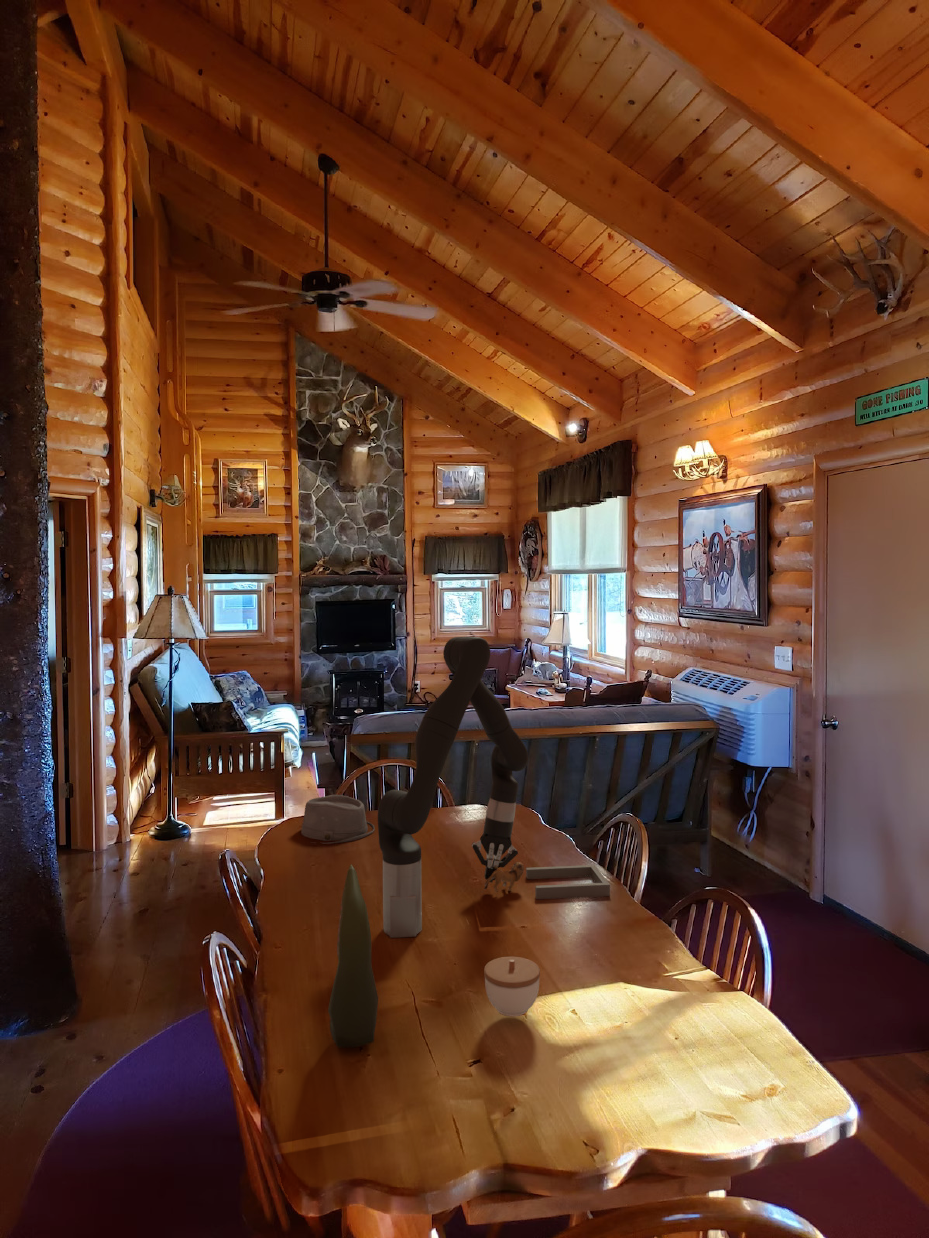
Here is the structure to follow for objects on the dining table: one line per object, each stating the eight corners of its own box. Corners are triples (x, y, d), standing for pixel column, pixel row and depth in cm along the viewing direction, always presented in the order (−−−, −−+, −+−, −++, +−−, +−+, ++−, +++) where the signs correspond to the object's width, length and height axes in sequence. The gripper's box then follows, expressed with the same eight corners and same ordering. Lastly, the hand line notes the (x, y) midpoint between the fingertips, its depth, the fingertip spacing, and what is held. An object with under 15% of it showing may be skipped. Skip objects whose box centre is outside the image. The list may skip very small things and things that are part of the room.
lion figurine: (508, 880, 220) (519, 857, 218) (519, 890, 217) (529, 867, 215) (478, 885, 211) (489, 861, 210) (489, 895, 208) (499, 871, 207)
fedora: (313, 822, 279) (313, 786, 279) (386, 829, 271) (385, 792, 270) (276, 843, 256) (275, 805, 256) (354, 852, 248) (353, 812, 247)
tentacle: (374, 1017, 152) (372, 860, 151) (383, 1053, 140) (381, 884, 139) (325, 1023, 150) (323, 865, 149) (330, 1061, 138) (328, 889, 137)
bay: (609, 895, 211) (609, 884, 211) (536, 899, 209) (536, 887, 209) (594, 875, 226) (594, 864, 226) (526, 878, 224) (526, 867, 224)
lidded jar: (474, 1014, 153) (474, 966, 153) (498, 989, 162) (498, 943, 162) (526, 1028, 148) (526, 978, 148) (548, 1001, 158) (548, 954, 157)
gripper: (477, 816, 210) (466, 882, 210) (526, 823, 212) (515, 889, 211) (474, 810, 218) (463, 873, 217) (521, 816, 219) (510, 880, 219)
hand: (489, 881), depth 214 cm, fingers closed
